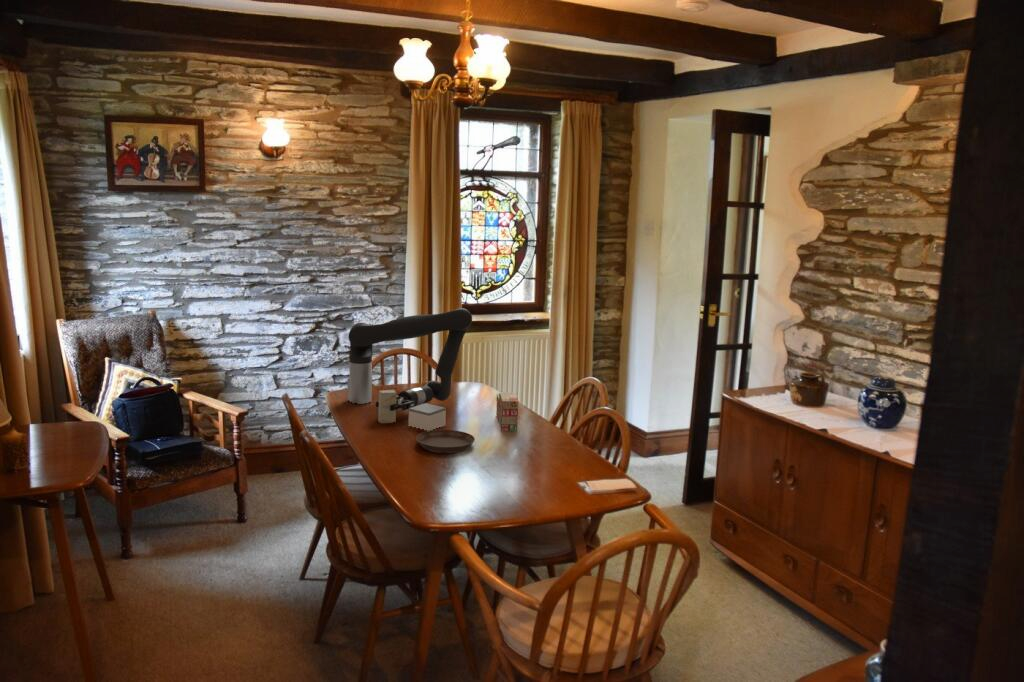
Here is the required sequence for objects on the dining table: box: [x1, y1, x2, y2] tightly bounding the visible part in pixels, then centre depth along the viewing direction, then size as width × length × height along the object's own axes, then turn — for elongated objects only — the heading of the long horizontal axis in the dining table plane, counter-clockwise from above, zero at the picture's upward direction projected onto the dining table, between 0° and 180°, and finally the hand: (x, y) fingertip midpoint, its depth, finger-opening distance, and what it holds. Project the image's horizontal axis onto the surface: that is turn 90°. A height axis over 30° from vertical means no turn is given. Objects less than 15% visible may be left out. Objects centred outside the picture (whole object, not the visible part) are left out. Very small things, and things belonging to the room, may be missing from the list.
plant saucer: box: [415, 429, 476, 454], centre depth 275 cm, size 21×21×3 cm
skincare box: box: [377, 389, 398, 424], centre depth 299 cm, size 6×4×12 cm
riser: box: [408, 402, 447, 432], centre depth 297 cm, size 10×10×7 cm
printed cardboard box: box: [495, 392, 520, 432], centre depth 304 cm, size 21×6×12 cm, turn 6°
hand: (383, 406), depth 297 cm, fingers closed on skincare box, 7 cm apart
